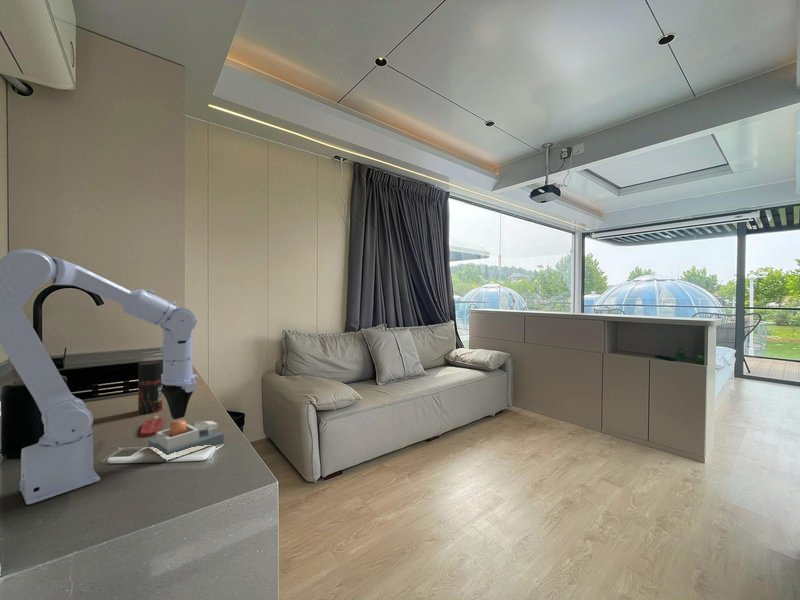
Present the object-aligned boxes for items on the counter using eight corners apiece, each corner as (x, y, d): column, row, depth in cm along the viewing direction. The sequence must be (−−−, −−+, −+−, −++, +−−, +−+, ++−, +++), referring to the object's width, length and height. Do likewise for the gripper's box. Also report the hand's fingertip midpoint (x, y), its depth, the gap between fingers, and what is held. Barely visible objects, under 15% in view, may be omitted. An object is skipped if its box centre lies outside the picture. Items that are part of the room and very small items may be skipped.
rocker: (200, 430, 79) (201, 424, 79) (193, 426, 81) (195, 421, 81) (217, 429, 82) (218, 423, 82) (210, 425, 84) (211, 420, 85)
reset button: (172, 439, 74) (172, 426, 74) (167, 435, 76) (167, 423, 76) (188, 434, 77) (188, 421, 77) (182, 431, 79) (182, 418, 79)
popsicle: (166, 411, 98) (160, 430, 85) (166, 417, 98) (160, 436, 85) (146, 414, 96) (138, 433, 83) (147, 420, 96) (138, 440, 83)
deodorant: (159, 412, 101) (158, 363, 101) (135, 415, 99) (135, 365, 98) (164, 406, 106) (164, 360, 106) (142, 408, 104) (142, 361, 104)
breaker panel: (166, 461, 71) (166, 441, 71) (148, 447, 78) (148, 428, 77) (223, 442, 81) (223, 423, 81) (202, 431, 87) (202, 414, 87)
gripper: (211, 360, 75) (211, 419, 75) (183, 353, 84) (184, 406, 84) (176, 365, 69) (176, 429, 70) (150, 357, 78) (150, 414, 78)
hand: (178, 417), depth 76 cm, fingers closed
